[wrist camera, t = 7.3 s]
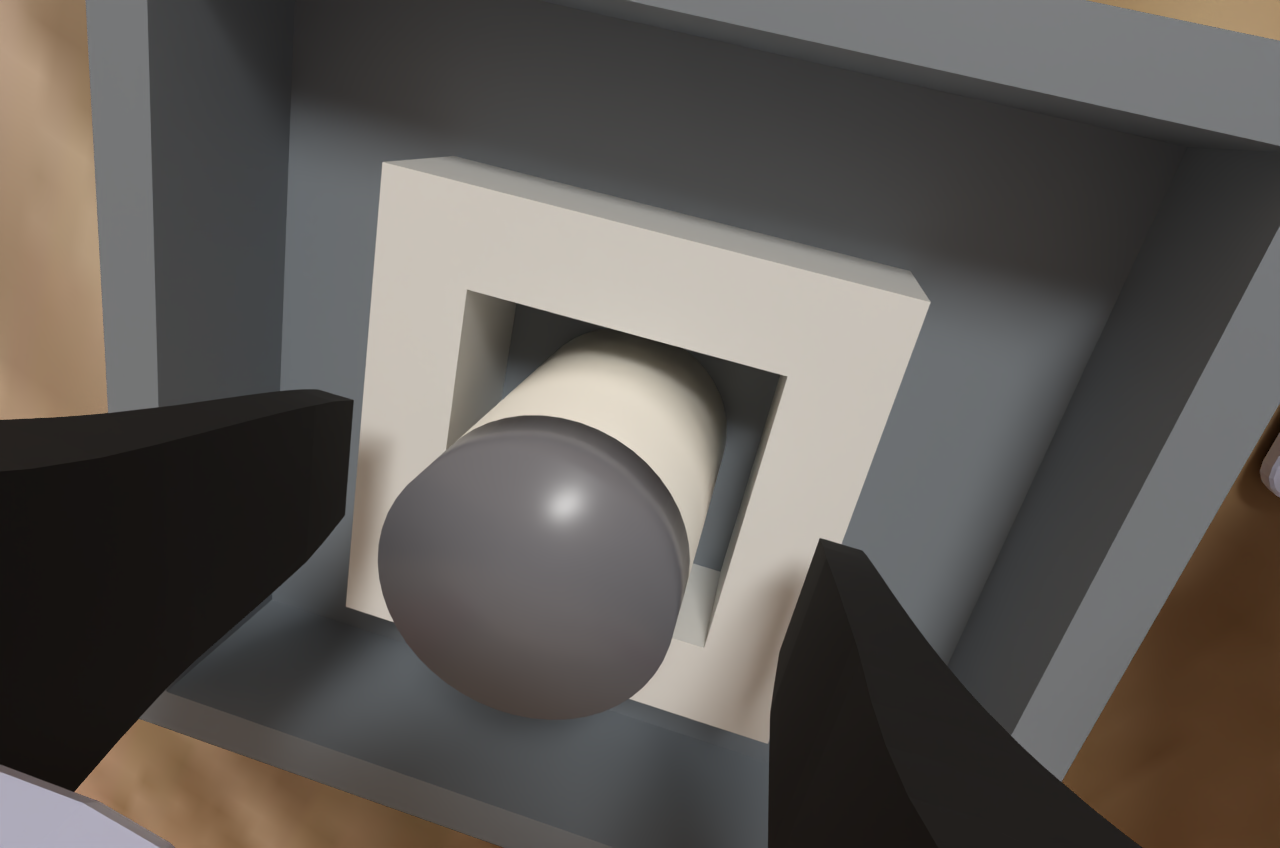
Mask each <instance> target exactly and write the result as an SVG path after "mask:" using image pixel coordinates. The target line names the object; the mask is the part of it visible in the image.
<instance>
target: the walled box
mask: <svg viewBox="0 0 1280 848" xmlns="http://www.w3.org/2000/svg"><path fill="white" fill-rule="evenodd" d="M86 15H87V33H88V52H89V70H90V88H91V106H92V125H93V143H94V161H95V179H96V197H97V216H98V234H99V252H100V270H101V289H102V307H103V325H104V343H105V361H106V380H107V398H108V413H113V412H121V411H130V410H139V409H147V408H156V407H164V406H173V405H181V404H188V403H195V402H202V401H209V400H216V399H223V398H230V397H237V396H244V395H252V394H259V393H267V392H276V391H285V390H298V389H318V390H322V391H325V392H329V393H332V394H335V395H339V396H342V397H345V398H349V399H352V400H354V405H353V418H352V431H351V444H350V457H349V470H348V483H347V496H346V509H345V516H344V517H343V519H342V520H341V521H340V522H339V524H338V525H337V526H336V527H335V529H334V530H333V531H332V532H331V534H330V535H329V536H328V537H327V539H326V540H325V541H324V542H323V544H322V545H321V546H320V547H319V548H318V549H317V550H316V552H315V553H314V554H313V555H312V556H311V557H310V558H309V560H308V561H307V562H306V563H305V564H304V565H303V566H302V567H301V568H299V569H298V570H297V571H296V572H295V573H294V574H293V575H292V576H291V577H290V578H288V579H287V580H286V581H285V582H284V583H283V584H282V585H281V586H280V587H278V588H277V589H276V590H275V591H274V592H273V593H272V594H271V595H270V596H268V597H267V598H266V599H265V600H264V601H263V602H262V603H260V604H259V605H258V606H257V607H256V608H255V609H254V610H253V611H251V612H250V613H249V614H248V615H247V616H246V617H245V618H243V619H242V620H241V621H240V622H239V623H238V624H237V625H235V626H234V627H233V628H232V629H231V630H230V631H229V632H227V633H226V634H225V635H224V636H223V637H222V638H221V639H219V640H218V641H217V642H216V643H215V644H214V645H213V646H212V647H210V648H209V649H208V650H207V651H206V652H205V653H204V654H202V655H201V656H200V657H199V658H198V659H197V660H196V661H194V662H193V663H192V664H191V665H190V666H189V667H188V668H187V669H186V670H185V671H184V672H183V673H182V674H181V675H180V676H179V677H178V678H177V679H176V680H175V681H174V682H173V683H171V684H170V685H169V687H168V688H167V689H166V690H165V691H164V692H163V693H162V694H161V695H160V696H159V697H158V698H157V699H156V701H155V702H154V703H153V704H152V705H151V706H150V707H149V708H148V709H147V710H146V711H145V712H144V714H143V715H142V716H141V717H140V718H139V719H141V720H144V721H147V722H150V723H153V724H156V725H158V726H161V727H164V728H167V729H170V730H173V731H175V732H178V733H181V734H184V735H187V736H190V737H192V738H195V739H198V740H201V741H204V742H206V743H209V744H212V745H215V746H218V747H221V748H223V749H226V750H229V751H232V752H235V753H238V754H240V755H243V756H246V757H249V758H252V759H255V760H257V761H260V762H263V763H266V764H269V765H271V766H274V767H277V768H280V769H283V770H286V771H288V772H291V773H294V774H297V775H300V776H303V777H305V778H308V779H311V780H314V781H317V782H320V783H322V784H325V785H328V786H331V787H334V788H336V789H339V790H342V791H345V792H348V793H351V794H353V795H356V796H359V797H362V798H365V799H368V800H370V801H373V802H376V803H379V804H382V805H385V806H387V807H390V808H393V809H396V810H399V811H401V812H404V813H407V814H410V815H413V816H416V817H418V818H421V819H424V820H427V821H430V822H433V823H435V824H438V825H441V826H444V827H447V828H450V829H452V830H455V831H458V832H461V833H464V834H466V835H469V836H472V837H475V838H478V839H481V840H483V841H486V842H489V843H492V844H495V845H498V846H500V847H503V848H768V796H769V742H768V744H766V743H763V742H760V741H757V740H754V739H751V738H748V737H745V736H742V735H739V734H736V733H733V732H730V731H726V730H723V729H720V728H717V727H714V726H711V725H708V724H705V723H702V722H699V721H696V720H693V719H690V718H687V717H683V716H680V715H677V714H674V713H671V712H668V711H665V710H662V709H659V708H656V707H653V706H650V705H647V704H644V703H640V702H637V701H634V700H631V699H627V700H626V701H624V702H622V703H621V704H619V705H617V706H615V707H613V708H611V709H608V710H606V711H604V712H601V713H597V714H594V715H590V716H587V717H581V718H574V719H567V720H545V719H533V718H527V717H522V716H517V715H512V714H509V713H506V712H502V711H499V710H496V709H493V708H491V707H489V706H486V705H484V704H481V703H479V702H477V701H475V700H473V699H471V698H470V697H468V696H466V695H464V694H462V693H461V692H459V691H458V690H456V689H455V688H453V687H452V686H450V685H449V684H447V683H446V682H444V681H443V680H442V679H441V678H440V677H438V676H437V675H436V674H435V673H434V672H432V671H431V670H430V669H429V668H428V667H427V666H426V665H425V664H424V663H423V662H422V661H421V660H420V659H419V658H418V657H417V655H416V654H415V653H414V652H413V650H412V649H411V648H410V647H409V645H408V644H407V643H406V641H405V640H404V638H403V637H402V635H401V634H400V632H399V631H398V629H397V627H396V625H395V623H394V622H392V621H388V620H385V619H382V618H379V617H376V616H373V615H370V614H367V613H364V612H361V611H358V610H355V609H352V608H349V607H346V598H347V586H348V574H349V562H350V550H351V538H352V525H353V513H354V501H355V489H356V477H357V465H358V453H359V441H360V429H361V416H362V404H363V392H364V380H365V368H366V356H367V344H368V332H369V319H370V307H371V295H372V283H373V271H374V259H375V247H376V235H377V223H378V210H379V198H380V186H381V174H382V162H388V161H400V160H412V159H424V158H436V157H448V156H456V157H460V158H464V159H468V160H472V161H476V162H480V163H484V164H488V165H492V166H496V167H500V168H504V169H508V170H511V171H515V172H519V173H523V174H527V175H531V176H535V177H539V178H543V179H547V180H551V181H555V182H559V183H563V184H567V185H571V186H575V187H579V188H583V189H587V190H591V191H595V192H599V193H603V194H607V195H611V196H615V197H619V198H623V199H626V200H630V201H634V202H638V203H642V204H646V205H650V206H654V207H658V208H662V209H666V210H670V211H674V212H678V213H682V214H686V215H690V216H694V217H698V218H702V219H706V220H710V221H714V222H718V223H722V224H726V225H730V226H734V227H738V228H741V229H745V230H749V231H753V232H757V233H761V234H765V235H769V236H773V237H777V238H781V239H785V240H789V241H793V242H797V243H801V244H805V245H809V246H813V247H817V248H821V249H825V250H829V251H833V252H837V253H841V254H845V255H849V256H853V257H857V258H860V259H864V260H868V261H872V262H876V263H880V264H884V265H888V266H892V267H896V268H900V269H904V270H908V271H911V273H912V274H913V276H914V277H915V279H916V280H917V282H918V283H919V285H920V287H921V288H922V290H923V291H924V293H925V294H926V296H927V297H928V299H929V300H930V302H931V303H930V305H929V308H928V311H927V313H926V316H925V319H924V322H923V324H922V327H921V330H920V332H919V335H918V338H917V341H916V343H915V346H914V349H913V351H912V354H911V357H910V360H909V362H908V365H907V368H906V370H905V373H904V376H903V379H902V381H901V384H900V387H899V389H898V392H897V395H896V398H895V400H894V403H893V406H892V408H891V411H890V414H889V416H888V419H887V422H886V425H885V427H884V430H883V433H882V435H881V438H880V441H879V444H878V446H877V449H876V452H875V454H874V457H873V460H872V463H871V465H870V468H869V471H868V473H867V476H866V479H865V482H864V484H863V487H862V490H861V492H860V495H859V498H858V501H857V503H856V506H855V509H854V511H853V514H852V517H851V520H850V522H849V525H848V528H847V530H846V533H845V536H844V538H843V541H842V545H846V546H849V547H853V548H856V549H859V550H863V552H864V553H865V554H866V555H867V557H868V558H869V559H870V561H871V562H872V564H873V565H874V566H875V568H876V569H877V571H878V572H879V574H880V575H881V577H882V578H883V580H884V581H885V583H886V584H887V585H888V587H889V588H890V590H891V591H892V593H893V594H894V596H895V597H896V599H897V600H898V601H899V603H900V604H901V606H902V607H903V609H904V610H905V611H906V613H907V614H908V616H909V617H910V618H911V620H912V621H913V622H914V624H915V625H916V627H917V628H918V629H919V631H920V632H921V633H922V635H923V636H924V637H925V639H926V640H927V641H928V643H929V644H930V645H931V646H932V648H933V649H934V650H935V651H936V653H937V654H938V655H939V657H940V658H941V659H942V660H943V661H944V663H945V664H946V665H947V666H948V667H949V669H950V670H951V671H952V672H953V673H954V675H955V676H956V677H957V678H958V679H959V681H960V682H961V683H962V684H963V685H964V686H965V688H966V689H967V690H968V691H969V692H970V693H971V694H972V696H973V697H974V698H975V699H976V700H977V701H978V702H979V703H980V704H981V705H982V706H983V708H984V709H985V710H986V711H987V712H988V713H989V714H990V715H991V716H992V717H993V718H994V719H995V720H996V721H997V722H998V723H999V724H1000V725H1001V726H1002V727H1003V728H1004V729H1005V730H1006V731H1007V732H1008V733H1009V734H1010V735H1011V736H1012V737H1013V738H1014V739H1015V740H1016V741H1017V742H1018V743H1019V744H1020V745H1021V746H1022V747H1023V748H1024V749H1025V750H1026V751H1027V752H1028V753H1030V754H1031V755H1032V756H1033V757H1034V758H1035V759H1036V760H1037V761H1038V762H1039V763H1040V764H1041V765H1042V766H1044V767H1045V768H1046V769H1047V770H1048V771H1049V772H1050V773H1052V774H1053V775H1054V776H1055V777H1056V778H1057V779H1059V780H1060V781H1062V780H1063V778H1064V776H1065V775H1066V773H1067V771H1068V769H1069V768H1070V766H1071V764H1072V762H1073V761H1074V759H1075V757H1076V755H1077V754H1078V752H1079V750H1080V749H1081V747H1082V745H1083V743H1084V742H1085V740H1086V738H1087V736H1088V735H1089V733H1090V731H1091V729H1092V728H1093V726H1094V724H1095V723H1096V721H1097V719H1098V717H1099V716H1100V714H1101V712H1102V710H1103V709H1104V707H1105V705H1106V703H1107V702H1108V700H1109V698H1110V697H1111V695H1112V693H1113V691H1114V690H1115V688H1116V686H1117V684H1118V683H1119V681H1120V679H1121V677H1122V676H1123V674H1124V672H1125V671H1126V669H1127V667H1128V665H1129V664H1130V662H1131V660H1132V658H1133V657H1134V655H1135V653H1136V652H1137V650H1138V648H1139V646H1140V645H1141V643H1142V641H1143V639H1144V638H1145V636H1146V634H1147V632H1148V631H1149V629H1150V627H1151V626H1152V624H1153V622H1154V620H1155V619H1156V617H1157V615H1158V613H1159V612H1160V610H1161V608H1162V606H1163V605H1164V603H1165V601H1166V600H1167V598H1168V596H1169V594H1170V593H1171V591H1172V589H1173V587H1174V586H1175V584H1176V582H1177V580H1178V579H1179V577H1180V575H1181V574H1182V572H1183V570H1184V568H1185V567H1186V565H1187V563H1188V561H1189V560H1190V558H1191V556H1192V555H1193V553H1194V551H1195V549H1196V548H1197V546H1198V544H1199V542H1200V541H1201V539H1202V537H1203V535H1204V534H1205V532H1206V530H1207V529H1208V527H1209V525H1210V523H1211V522H1212V520H1213V518H1214V516H1215V515H1216V513H1217V511H1218V509H1219V508H1220V506H1221V504H1222V503H1223V501H1224V499H1225V497H1226V496H1227V494H1228V492H1229V490H1230V489H1231V487H1232V485H1233V483H1234V482H1235V480H1236V478H1237V477H1238V475H1239V473H1240V471H1241V470H1242V468H1243V466H1244V464H1245V463H1246V461H1247V459H1248V458H1249V456H1250V454H1251V452H1252V451H1253V449H1254V447H1255V445H1256V444H1257V442H1258V440H1259V438H1260V437H1261V435H1262V433H1263V432H1264V430H1265V428H1266V426H1267V425H1268V423H1269V421H1270V419H1271V418H1272V416H1273V414H1274V412H1275V411H1276V409H1277V407H1278V406H1279V404H1280V41H1278V40H1273V39H1268V38H1264V37H1259V36H1254V35H1249V34H1245V33H1240V32H1235V31H1230V30H1225V29H1221V28H1216V27H1211V26H1206V25H1201V24H1197V23H1192V22H1187V21H1182V20H1177V19H1173V18H1168V17H1163V16H1158V15H1154V14H1149V13H1144V12H1139V11H1134V10H1130V9H1125V8H1120V7H1115V6H1110V5H1106V4H1101V3H1096V2H1091V1H1086V0H86ZM605 328H607V327H603V326H600V325H596V324H592V323H589V322H585V321H581V320H578V319H574V318H570V317H566V316H563V315H559V314H555V313H552V312H548V311H544V310H541V309H537V308H533V307H530V306H526V305H522V304H519V303H516V310H515V316H514V323H513V329H512V335H511V342H510V348H509V354H508V361H507V367H506V373H505V380H504V386H503V393H502V399H501V401H502V400H503V399H504V398H505V397H506V396H507V395H508V394H509V393H510V392H512V391H513V390H514V389H515V388H516V387H517V386H518V385H519V384H520V383H522V382H523V381H524V380H525V379H526V378H527V377H528V376H529V375H531V374H532V373H533V372H534V371H535V370H536V369H537V368H538V367H539V366H541V365H542V364H543V363H544V362H545V361H546V360H547V359H548V358H550V357H551V356H552V355H553V354H554V353H555V352H556V351H557V350H559V349H560V348H561V347H562V346H563V345H565V344H566V343H568V342H569V341H571V340H572V339H574V338H576V337H579V336H581V335H583V334H585V333H588V332H592V331H595V330H599V329H605ZM683 349H684V348H683ZM685 350H686V351H687V352H689V353H690V354H691V355H692V356H693V357H694V358H695V359H696V360H697V361H698V362H699V363H700V364H701V365H702V366H703V368H704V369H705V370H706V371H707V373H708V374H709V376H710V377H711V379H712V380H713V382H714V383H715V385H716V388H717V390H718V392H719V394H720V396H721V399H722V402H723V406H724V410H725V415H726V422H727V437H726V446H725V450H724V454H723V458H722V462H721V465H720V469H719V472H718V476H717V479H716V483H715V487H714V490H713V494H712V497H711V501H710V504H709V508H708V512H707V515H706V519H705V522H704V526H703V529H702V533H701V537H700V540H699V544H698V547H697V551H696V554H695V558H694V561H693V564H697V565H700V566H703V567H706V568H710V569H713V570H716V571H720V572H721V569H722V565H723V562H724V559H725V555H726V552H727V549H728V546H729V542H730V539H731V536H732V532H733V529H734V526H735V522H736V519H737V516H738V513H739V509H740V506H741V503H742V499H743V496H744V493H745V490H746V486H747V483H748V480H749V476H750V473H751V470H752V466H753V463H754V460H755V457H756V453H757V450H758V447H759V443H760V440H761V437H762V433H763V430H764V427H765V424H766V420H767V417H768V414H769V410H770V407H771V404H772V400H773V397H774V394H775V391H776V387H777V384H778V381H779V377H780V374H776V373H773V372H769V371H765V370H762V369H758V368H754V367H750V366H747V365H743V364H739V363H736V362H732V361H728V360H725V359H721V358H717V357H714V356H710V355H706V354H703V353H699V352H695V351H692V350H688V349H685Z"/></svg>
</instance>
